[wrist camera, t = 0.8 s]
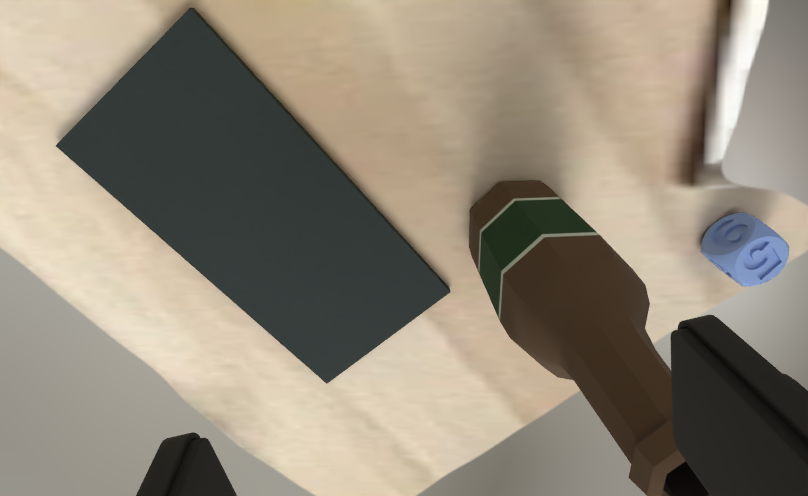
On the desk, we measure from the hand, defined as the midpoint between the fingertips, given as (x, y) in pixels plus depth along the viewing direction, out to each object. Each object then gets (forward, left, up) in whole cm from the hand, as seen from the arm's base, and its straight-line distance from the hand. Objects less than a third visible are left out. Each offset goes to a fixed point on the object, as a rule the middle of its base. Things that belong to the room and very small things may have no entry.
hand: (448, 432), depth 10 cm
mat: (-1, -11, -28) cm, 30 cm away
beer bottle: (+11, +3, -29) cm, 31 cm away
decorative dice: (+23, +15, -29) cm, 39 cm away
